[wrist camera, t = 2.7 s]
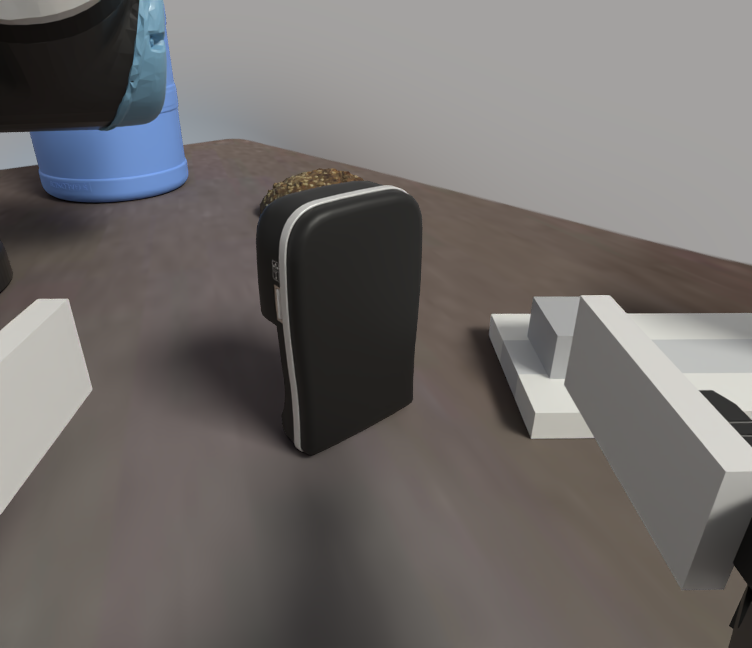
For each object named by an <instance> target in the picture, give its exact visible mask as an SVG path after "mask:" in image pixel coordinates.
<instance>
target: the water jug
mask: <svg viewBox="0 0 752 648" xmlns="http://www.w3.org/2000/svg"><path fill="white" fill-rule="evenodd" d="M164 16H165V37H164V42H165V46H166V59H167V78H166V94H165V101H164V105H163V108H162V110H161V112H160V114H159V115H158V117H157V118H156V119H155V120H153V121H151V122H150V123H147V124H143V125H134V126H124V127H116V128H115V129H112V130H109V131H100V130H69V131H34V132H30V135H31V139H32V143H33V147H34V151H35V154H36V158H37V162H38V166H39V175H40V179H41V183H42V186H43V188H44V189H45V191H46V192H47V193H49V194H50V195H52V196H54V197H56V198H59V199H63V200H68V201H75V202H92V203H100V202H119V201H129V200H136V199H142V198H148V197H152V196H157V195H160V194H164V193H167V192H170V191H172V190H174V189H177V188H178V187H180V186H181V185H183V184H184V183H185V181H186V180H187V178H188V167H187V160H186V158H185V156H184V149H183V142H182V135H181V128H180V121H179V114H178V98H177V91H176V86H175V83H174V80H173V73H172V66H171V59H170V53H169V46H168V39H167V32H166V15H165V9H164Z"/></svg>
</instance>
